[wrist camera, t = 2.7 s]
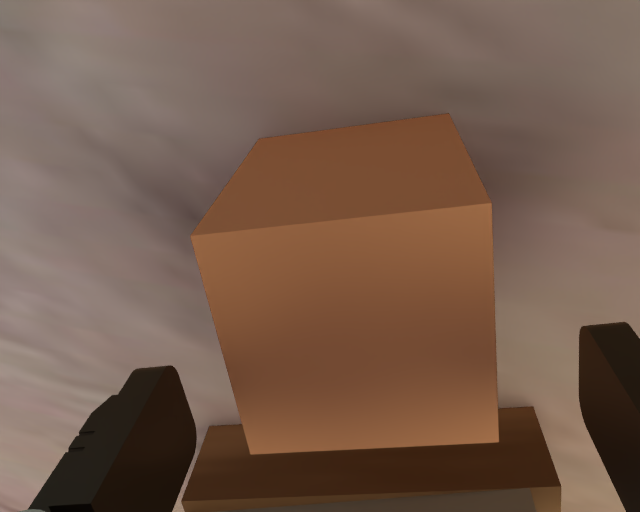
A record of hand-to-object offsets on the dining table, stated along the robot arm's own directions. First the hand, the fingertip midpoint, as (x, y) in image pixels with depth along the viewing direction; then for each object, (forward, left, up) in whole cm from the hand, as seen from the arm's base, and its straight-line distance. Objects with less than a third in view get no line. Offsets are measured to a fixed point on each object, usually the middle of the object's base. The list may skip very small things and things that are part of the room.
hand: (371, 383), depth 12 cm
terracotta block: (-1, 0, -7) cm, 7 cm away
